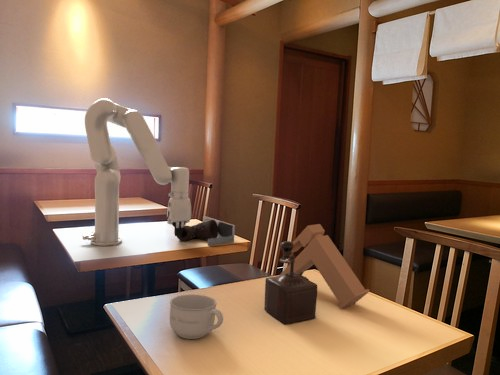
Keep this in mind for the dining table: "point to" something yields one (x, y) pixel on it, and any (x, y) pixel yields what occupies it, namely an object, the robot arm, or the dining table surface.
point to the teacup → (194, 315)
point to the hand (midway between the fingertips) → (178, 236)
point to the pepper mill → (290, 293)
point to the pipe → (200, 231)
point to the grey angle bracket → (221, 232)
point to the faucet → (327, 265)
